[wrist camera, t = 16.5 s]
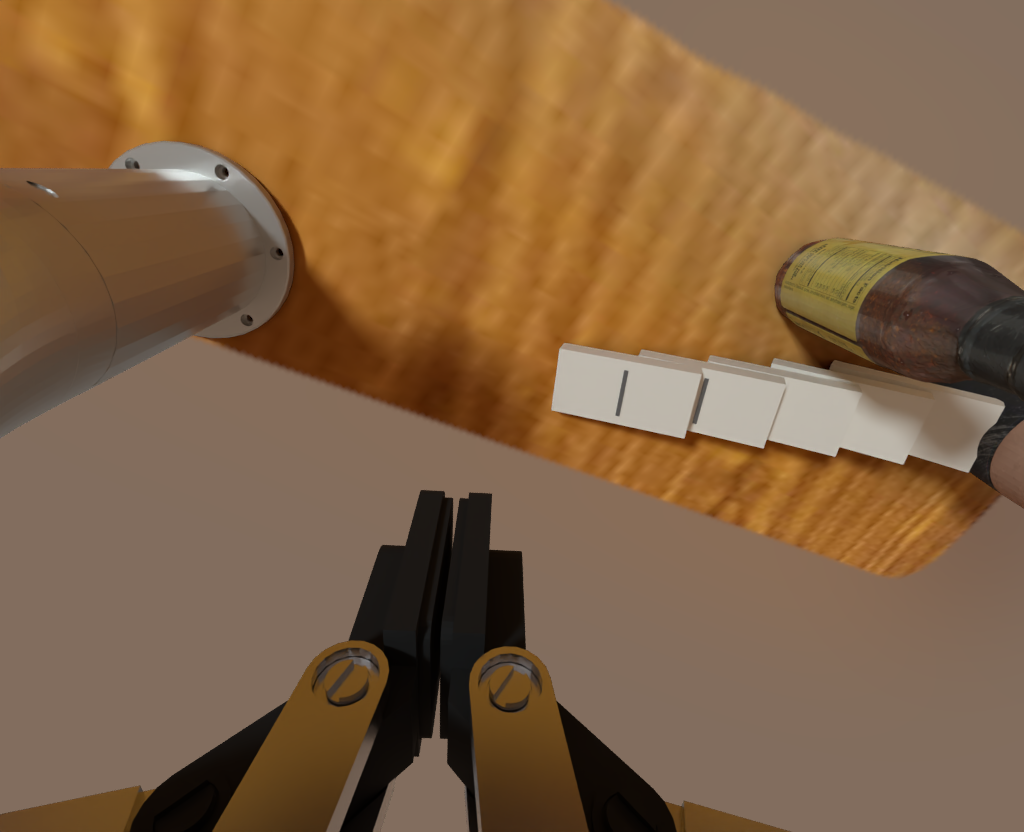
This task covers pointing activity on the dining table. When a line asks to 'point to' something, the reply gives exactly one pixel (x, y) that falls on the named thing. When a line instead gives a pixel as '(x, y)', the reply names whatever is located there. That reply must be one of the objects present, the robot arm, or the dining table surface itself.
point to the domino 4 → (877, 413)
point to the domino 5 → (942, 418)
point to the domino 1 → (625, 389)
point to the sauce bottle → (909, 310)
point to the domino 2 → (731, 401)
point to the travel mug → (1000, 443)
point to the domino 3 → (808, 408)
